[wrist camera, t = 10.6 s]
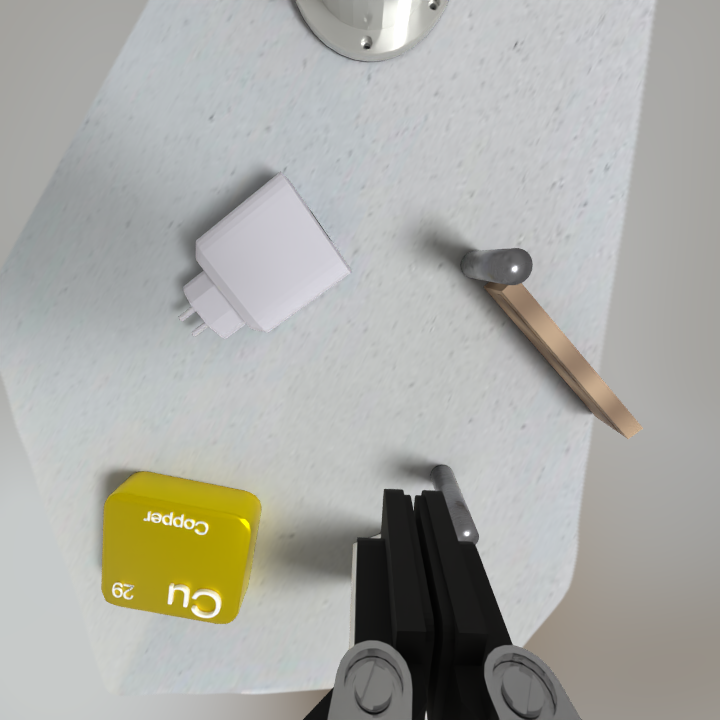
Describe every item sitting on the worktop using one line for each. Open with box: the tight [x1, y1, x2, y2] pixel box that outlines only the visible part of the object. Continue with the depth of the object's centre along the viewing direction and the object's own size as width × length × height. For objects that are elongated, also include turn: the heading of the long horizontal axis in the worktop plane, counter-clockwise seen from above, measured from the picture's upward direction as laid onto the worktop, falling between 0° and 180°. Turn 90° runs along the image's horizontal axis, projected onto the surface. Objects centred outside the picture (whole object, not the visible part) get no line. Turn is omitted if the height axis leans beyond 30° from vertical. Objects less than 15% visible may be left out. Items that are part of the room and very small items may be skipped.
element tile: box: [101, 471, 261, 624], centre depth 39 cm, size 15×15×5 cm
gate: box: [484, 282, 643, 439], centre depth 32 cm, size 18×2×4 cm, turn 44°
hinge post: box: [461, 248, 532, 285], centre depth 28 cm, size 2×2×9 cm
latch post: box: [431, 465, 479, 545], centre depth 34 cm, size 2×2×9 cm
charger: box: [179, 172, 352, 339], centre depth 31 cm, size 5×9×15 cm
